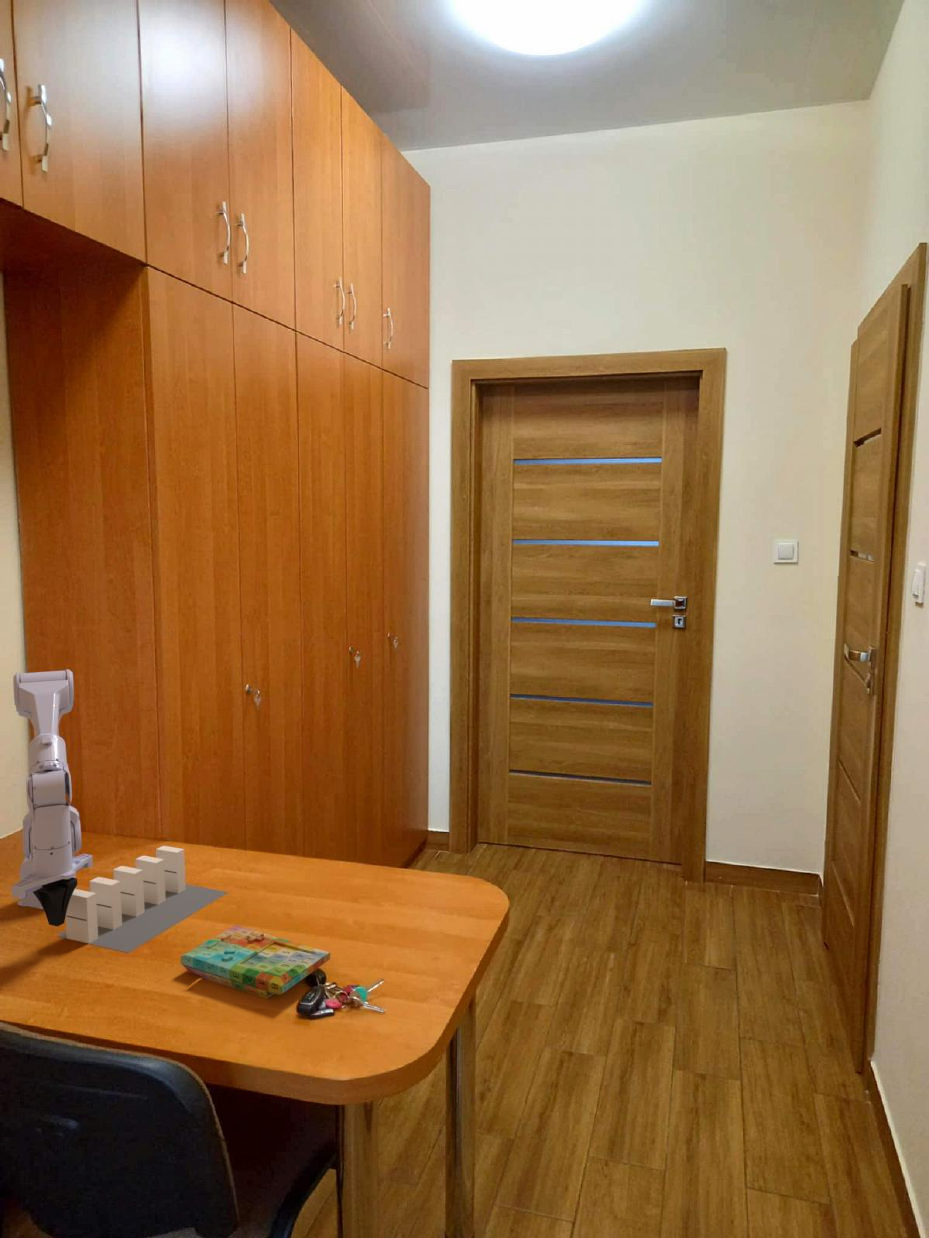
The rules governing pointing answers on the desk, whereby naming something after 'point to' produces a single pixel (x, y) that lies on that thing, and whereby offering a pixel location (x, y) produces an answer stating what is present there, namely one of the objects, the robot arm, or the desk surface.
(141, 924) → the mat
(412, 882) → the desk surface
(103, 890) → the domino
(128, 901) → the domino
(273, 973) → the puzzle game
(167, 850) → the domino
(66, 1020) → the desk surface
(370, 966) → the desk surface
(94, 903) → the domino
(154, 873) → the domino
